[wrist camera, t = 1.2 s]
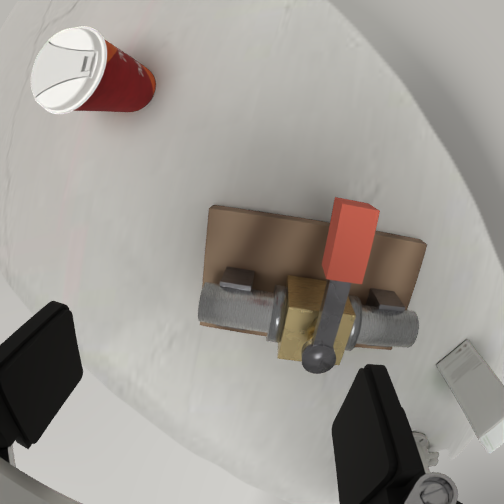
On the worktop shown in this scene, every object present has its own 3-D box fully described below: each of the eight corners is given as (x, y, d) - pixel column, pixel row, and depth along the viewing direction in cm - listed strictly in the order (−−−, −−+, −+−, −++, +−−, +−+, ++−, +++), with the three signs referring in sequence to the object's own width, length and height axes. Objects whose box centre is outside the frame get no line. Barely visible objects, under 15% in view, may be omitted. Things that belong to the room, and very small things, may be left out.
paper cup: (171, 58, 29) (109, 16, 16) (157, 123, 31) (86, 113, 18) (112, 59, 29) (37, 30, 16) (100, 119, 31) (18, 114, 18)
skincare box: (434, 363, 38) (475, 439, 23) (468, 335, 36) (520, 404, 21) (451, 388, 39) (487, 457, 25) (482, 363, 37) (525, 427, 23)
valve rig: (420, 239, 33) (466, 275, 22) (387, 341, 37) (412, 397, 27) (213, 204, 34) (182, 230, 23) (203, 316, 38) (178, 372, 28)
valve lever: (328, 360, 26) (332, 380, 24) (297, 356, 26) (299, 377, 24) (369, 203, 22) (381, 211, 19) (333, 196, 22) (340, 203, 19)
